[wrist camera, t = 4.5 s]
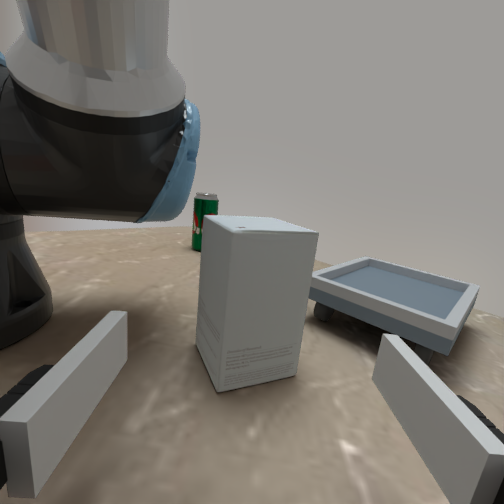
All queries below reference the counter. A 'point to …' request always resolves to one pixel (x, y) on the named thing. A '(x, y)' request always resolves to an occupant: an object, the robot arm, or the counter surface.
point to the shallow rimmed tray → (396, 301)
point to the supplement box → (252, 298)
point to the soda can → (202, 215)
